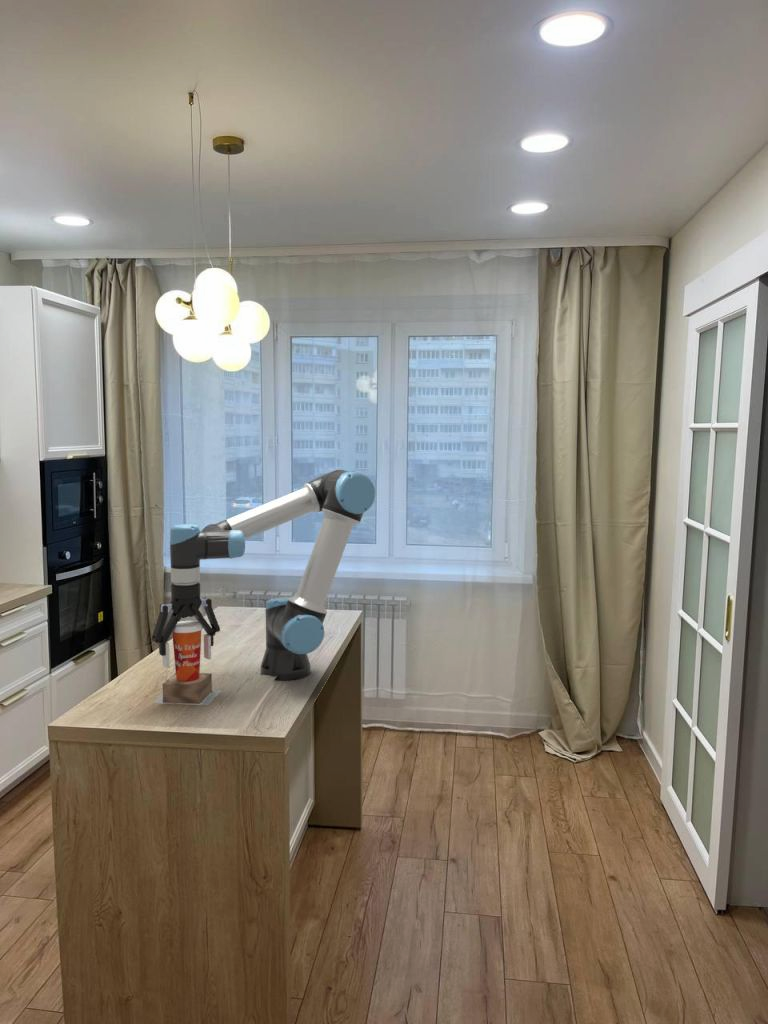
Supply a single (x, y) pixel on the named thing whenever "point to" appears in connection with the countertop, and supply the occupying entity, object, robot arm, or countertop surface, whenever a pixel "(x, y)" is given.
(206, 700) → the build plate
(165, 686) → the pedestal
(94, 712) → the countertop surface
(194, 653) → the coffee cup
